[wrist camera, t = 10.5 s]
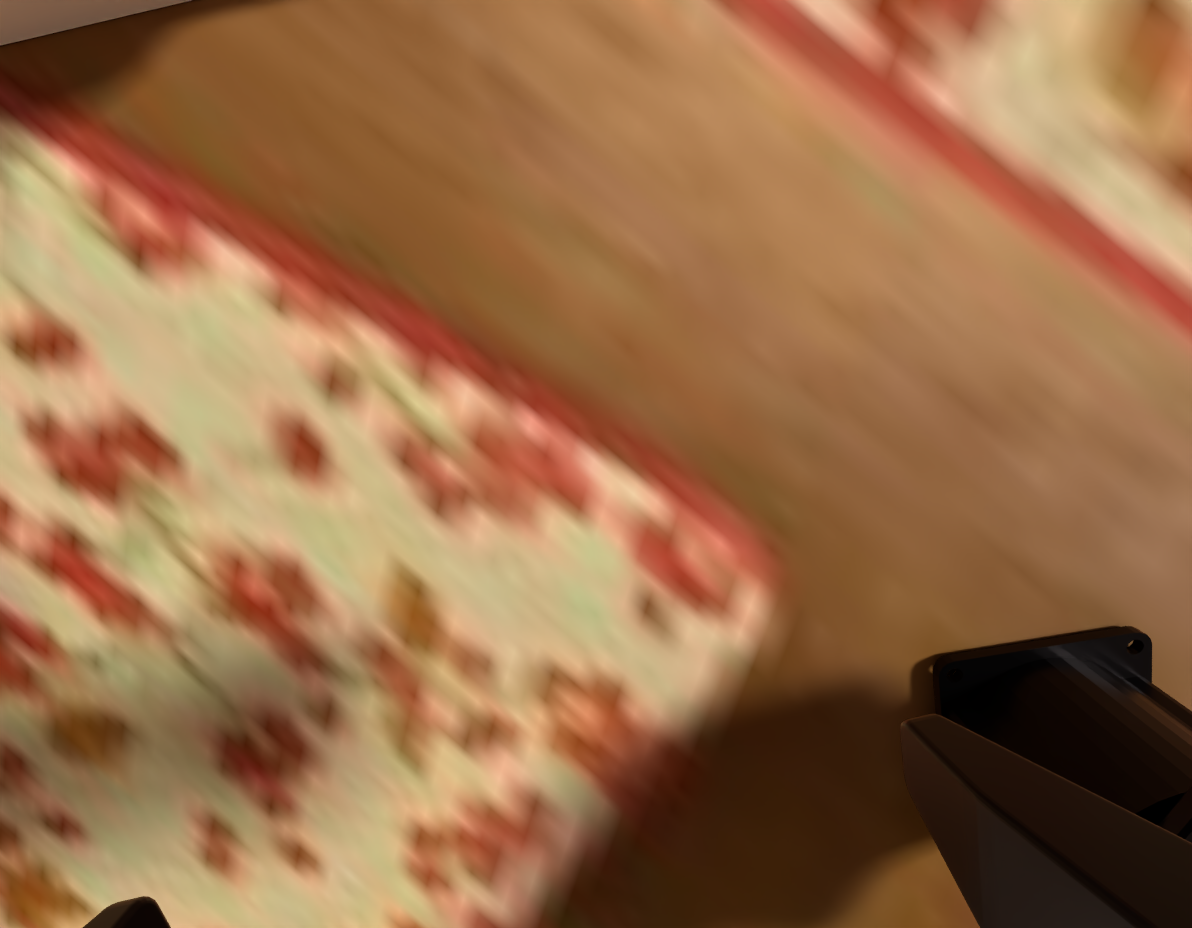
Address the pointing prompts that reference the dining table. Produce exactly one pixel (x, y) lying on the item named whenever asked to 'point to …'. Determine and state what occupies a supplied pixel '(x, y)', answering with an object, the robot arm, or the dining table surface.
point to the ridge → (64, 15)
